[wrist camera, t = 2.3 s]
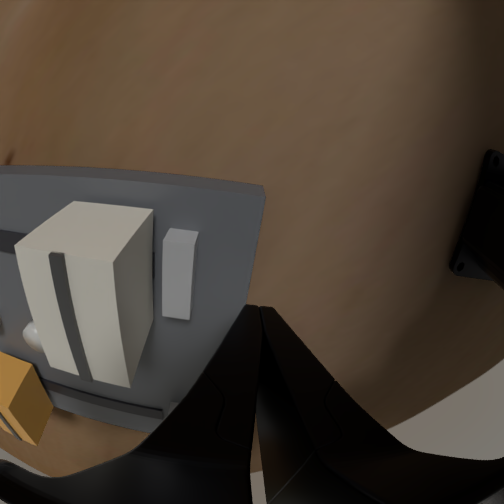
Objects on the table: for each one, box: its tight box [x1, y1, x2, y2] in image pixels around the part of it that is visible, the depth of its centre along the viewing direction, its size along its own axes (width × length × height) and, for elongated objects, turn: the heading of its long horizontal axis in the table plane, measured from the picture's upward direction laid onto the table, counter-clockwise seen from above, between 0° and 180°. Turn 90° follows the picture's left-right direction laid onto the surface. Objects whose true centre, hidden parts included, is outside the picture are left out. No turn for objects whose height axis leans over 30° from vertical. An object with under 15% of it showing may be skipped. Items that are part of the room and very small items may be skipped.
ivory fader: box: [14, 201, 153, 388], centre depth 8 cm, size 3×4×4 cm, turn 171°
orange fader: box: [0, 351, 54, 446], centre depth 12 cm, size 3×4×4 cm, turn 171°
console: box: [0, 166, 266, 433], centre depth 12 cm, size 20×16×2 cm
